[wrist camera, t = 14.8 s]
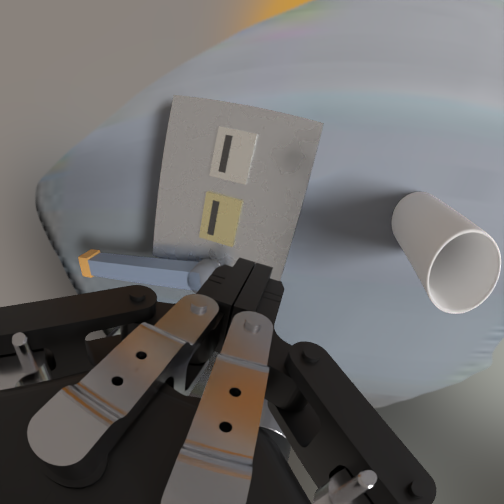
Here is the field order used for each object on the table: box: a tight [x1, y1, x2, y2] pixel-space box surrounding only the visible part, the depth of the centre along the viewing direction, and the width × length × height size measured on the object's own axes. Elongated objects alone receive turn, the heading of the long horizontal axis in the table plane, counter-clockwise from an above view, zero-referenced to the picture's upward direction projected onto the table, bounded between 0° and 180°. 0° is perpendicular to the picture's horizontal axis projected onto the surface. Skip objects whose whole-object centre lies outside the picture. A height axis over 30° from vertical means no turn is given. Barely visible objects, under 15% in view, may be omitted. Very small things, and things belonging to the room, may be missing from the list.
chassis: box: [153, 95, 324, 281], centre depth 37 cm, size 22×18×6 cm
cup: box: [391, 192, 501, 314], centre depth 28 cm, size 8×8×16 cm
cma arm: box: [78, 249, 219, 293], centre depth 39 cm, size 22×4×3 cm, turn 91°
